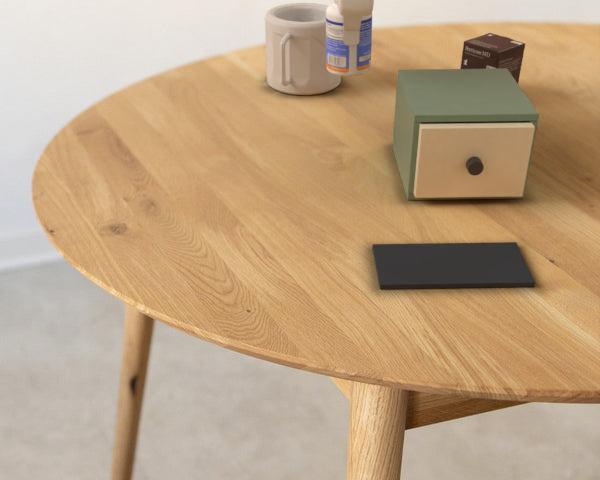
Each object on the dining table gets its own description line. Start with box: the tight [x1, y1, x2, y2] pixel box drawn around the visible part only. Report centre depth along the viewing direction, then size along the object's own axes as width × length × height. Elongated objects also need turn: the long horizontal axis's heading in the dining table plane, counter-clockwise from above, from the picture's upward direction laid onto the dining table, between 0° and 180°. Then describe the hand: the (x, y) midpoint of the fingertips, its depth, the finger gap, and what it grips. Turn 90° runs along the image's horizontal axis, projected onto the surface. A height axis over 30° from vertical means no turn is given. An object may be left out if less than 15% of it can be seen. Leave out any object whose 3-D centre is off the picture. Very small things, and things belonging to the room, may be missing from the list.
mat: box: [371, 241, 536, 290], centre depth 73 cm, size 14×7×1 cm, turn 91°
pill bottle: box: [326, 0, 373, 77], centre depth 92 cm, size 5×5×10 cm
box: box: [459, 32, 526, 84], centre depth 107 cm, size 6×6×7 cm
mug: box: [264, 2, 342, 96], centre depth 109 cm, size 14×11×10 cm
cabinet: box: [391, 68, 540, 201], centre depth 87 cm, size 14×13×10 cm
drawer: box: [414, 121, 535, 198], centre depth 85 cm, size 14×11×8 cm
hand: (348, 34), depth 92 cm, fingers closed on pill bottle, 5 cm apart
